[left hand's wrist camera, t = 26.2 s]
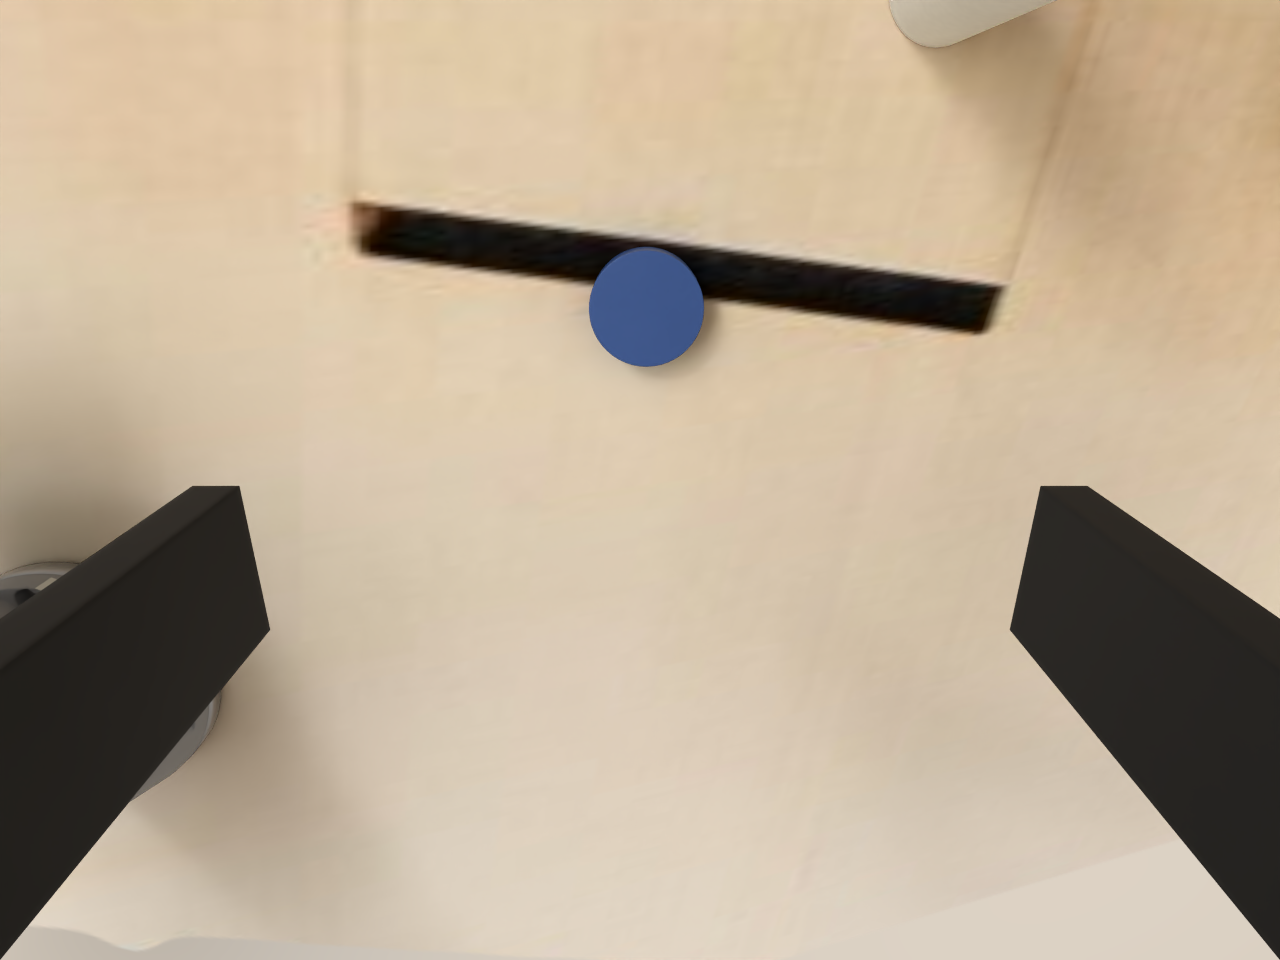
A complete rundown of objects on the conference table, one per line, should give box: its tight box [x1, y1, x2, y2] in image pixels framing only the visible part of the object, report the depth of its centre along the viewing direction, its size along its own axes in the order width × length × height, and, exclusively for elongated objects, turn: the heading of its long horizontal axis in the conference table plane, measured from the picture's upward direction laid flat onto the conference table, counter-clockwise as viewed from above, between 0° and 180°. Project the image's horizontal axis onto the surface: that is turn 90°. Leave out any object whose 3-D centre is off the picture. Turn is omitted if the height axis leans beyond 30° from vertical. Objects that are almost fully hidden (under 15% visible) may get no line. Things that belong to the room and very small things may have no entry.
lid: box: [589, 247, 704, 367], centre depth 37 cm, size 6×6×2 cm
